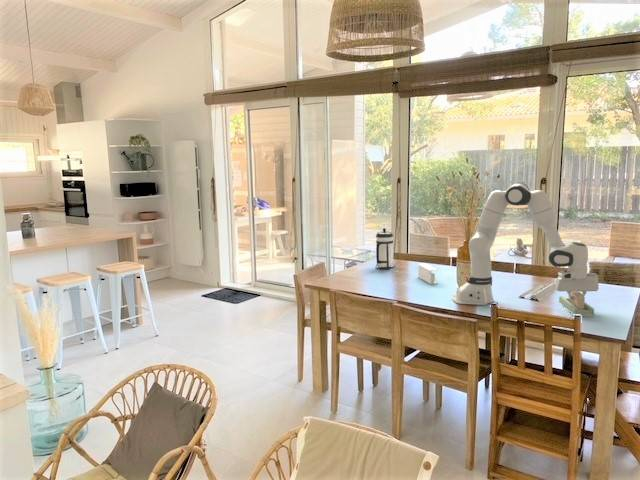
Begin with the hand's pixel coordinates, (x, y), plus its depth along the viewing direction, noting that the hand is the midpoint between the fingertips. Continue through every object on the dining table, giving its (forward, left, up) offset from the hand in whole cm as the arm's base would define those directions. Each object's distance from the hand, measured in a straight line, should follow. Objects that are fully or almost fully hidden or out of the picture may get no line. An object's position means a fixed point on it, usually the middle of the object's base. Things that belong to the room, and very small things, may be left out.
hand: (576, 299), depth 253 cm
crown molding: (-9, +31, -6) cm, 33 cm away
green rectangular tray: (0, 0, -6) cm, 6 cm away
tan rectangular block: (0, 0, -2) cm, 2 cm away
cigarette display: (-71, +63, -6) cm, 95 cm away
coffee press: (-99, +99, -6) cm, 140 cm away
